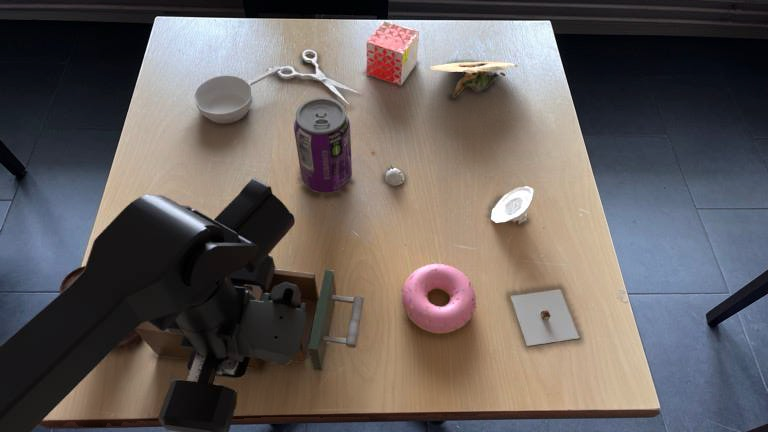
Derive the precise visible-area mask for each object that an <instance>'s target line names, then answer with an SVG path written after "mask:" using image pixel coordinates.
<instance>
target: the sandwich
mask: <svg viewBox="0 0 768 432" xmlns="http://www.w3.org/2000/svg"><path fill="white" fill-rule="evenodd" d="M507 67H518V65H517V64H515V63H513V62H500V61H499V62H498V61H474V62H473V61H471V62H452V63H445V64H444V63H443V64H438V65H432V66H429V70H431V71H443V72H449V73H453V72H458V73H460V72H462V73H463V75H464V77H462V78H460V80H459V81H458V82H457V84H456V86H455V88H454V91H453V95H452V96H451V98H452V99H455V98H456V97H457V96H458V95H459V94H460V93H461V92H462V91H464V90H465V88H466V87H469V88H470V89H471V90H473V91H475V92H481V91H483V90H485V89H487V88H488V87H489V86H490V85H491V83H492V82H493V81H494V80H496V79H497V78H498V77H499V76H500V75H501V76H503V77H506V73H505V72H502V70H503V71H504V70H505V69H506V68H507ZM497 71H501V72H500V73H499V74H498V73H497ZM486 72H489V73H487V74H486ZM492 72H494V73H492Z"/></svg>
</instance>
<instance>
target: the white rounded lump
mask: <svg viewBox="0 0 768 432" xmlns="http://www.w3.org/2000/svg"><path fill="white" fill-rule="evenodd" d="M389 166H390V167H387V172H386V173H385V181H386V182H387V183H388V184H389V185H391V186H400V185H401V184H403V183H405V175H404V173H403V171H401V170H400V169H399V168H394V167H393V166H392V165H391V164H390V165H389Z"/></svg>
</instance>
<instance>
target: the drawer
mask: <svg viewBox="0 0 768 432" xmlns="http://www.w3.org/2000/svg"><path fill="white" fill-rule="evenodd" d="M284 282H287V283H290V284H294V285H297V286H298V288H299V290H300V293H301V298H300V301H301V302H302V303H304V304H306V309H305V315H306V323H305V327H304V331H303V336H302V340H301V345H300V349H299V351H298V352H297V354H296V355H295V356H294V358H293V359H292V360H291V361H290V362H297V363H306V359H307V354H308V353H309V357H310V361H311V365H312V366H311V367H312V370H313V371H318V372H319V371H320V372H322V371H323V367H324V362H325V357H326V352H327V347H328V343H331V344H340V345H345V346H346V347H348V348H351V349H355V348H357V345H358V339H359V333H360V327H361V321H362V315H363V308H364V302H365V298H364V297H363V296H361V295H355V296H353V297H351V296H350V297H349V296H342V295H337V288H336V279H335V271H334V270H330V269H325V270H324V273H323V278H322V283H321V287H320V291H318V285H317V279H316V273H313V272H305V271H304V272H303V271H295V270H287V269H278V268H276V269H275V270H274V274H273V277H272V281H271V284H270V288H269V289H268V290H267V291H264V292H263V293H271V291H272V289H273V287H274V286H276V285H279V284H282V283H284ZM336 302H339V303H346V304H347V303H348V304H352V307H351V313H350V318H349V323H348V324H349V325H348V330H347V335H346V338H345V337H344V338H343V337H336V336H330V331H331V326H332V321H333V316H334V312H335V307H336Z"/></svg>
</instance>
